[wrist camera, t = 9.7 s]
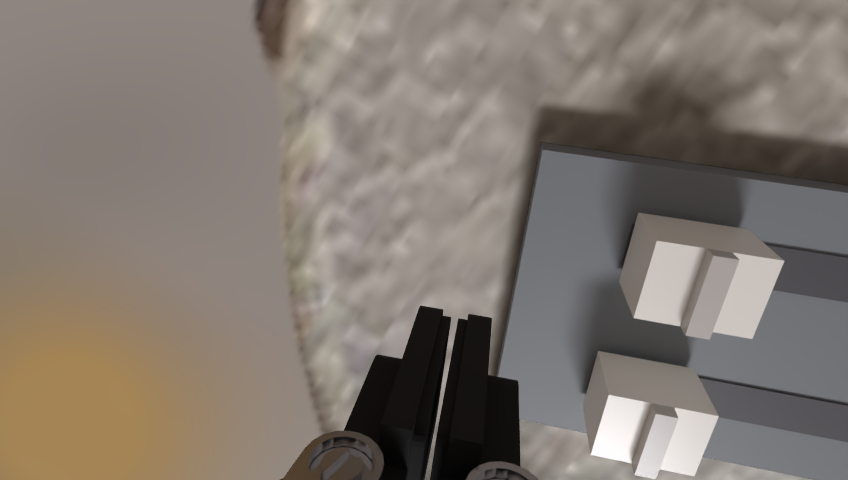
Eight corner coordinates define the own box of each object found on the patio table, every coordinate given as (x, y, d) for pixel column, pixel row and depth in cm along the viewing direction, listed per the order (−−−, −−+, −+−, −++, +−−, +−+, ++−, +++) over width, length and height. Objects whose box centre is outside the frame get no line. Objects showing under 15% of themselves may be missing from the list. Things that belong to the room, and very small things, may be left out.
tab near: (747, 229, 20) (793, 268, 16) (721, 298, 21) (759, 348, 17) (638, 212, 20) (661, 247, 17) (618, 281, 21) (636, 327, 18)
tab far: (694, 368, 22) (724, 427, 19) (673, 423, 23) (698, 488, 20) (598, 350, 22) (611, 404, 19) (582, 405, 24) (592, 466, 20)
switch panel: (1211, 236, 19) (1270, 253, 17) (1015, 498, 24) (1048, 529, 22) (541, 142, 22) (542, 150, 20) (492, 394, 27) (490, 415, 25)
